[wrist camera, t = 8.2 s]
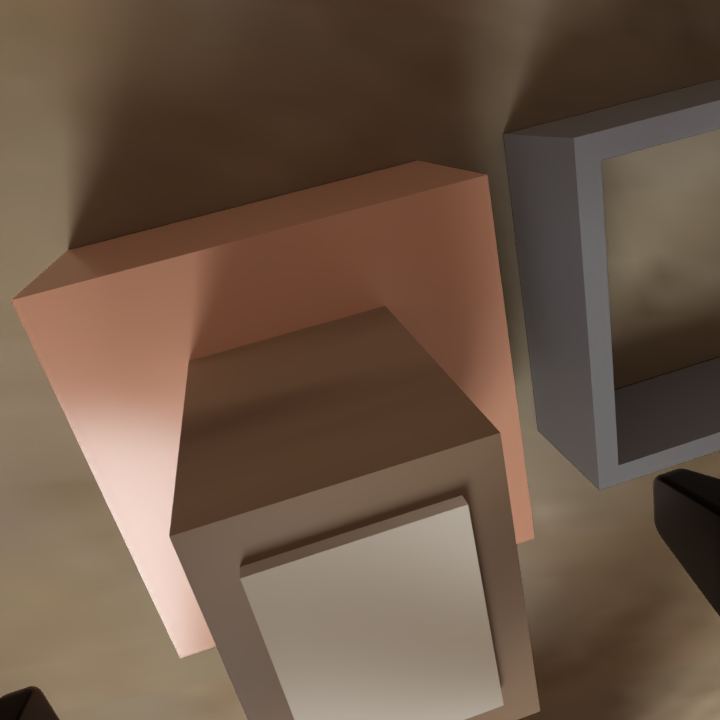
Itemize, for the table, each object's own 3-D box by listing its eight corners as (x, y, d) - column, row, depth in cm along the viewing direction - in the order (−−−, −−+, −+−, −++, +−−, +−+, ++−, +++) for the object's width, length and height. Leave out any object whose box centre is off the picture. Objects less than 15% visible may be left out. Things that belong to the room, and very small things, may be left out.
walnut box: (427, 504, 14) (546, 722, 9) (260, 559, 14) (286, 820, 9) (385, 306, 12) (507, 440, 7) (188, 361, 12) (167, 548, 7)
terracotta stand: (467, 450, 20) (534, 538, 15) (188, 539, 19) (180, 658, 14) (417, 160, 16) (487, 174, 12) (67, 250, 15) (11, 300, 11)
